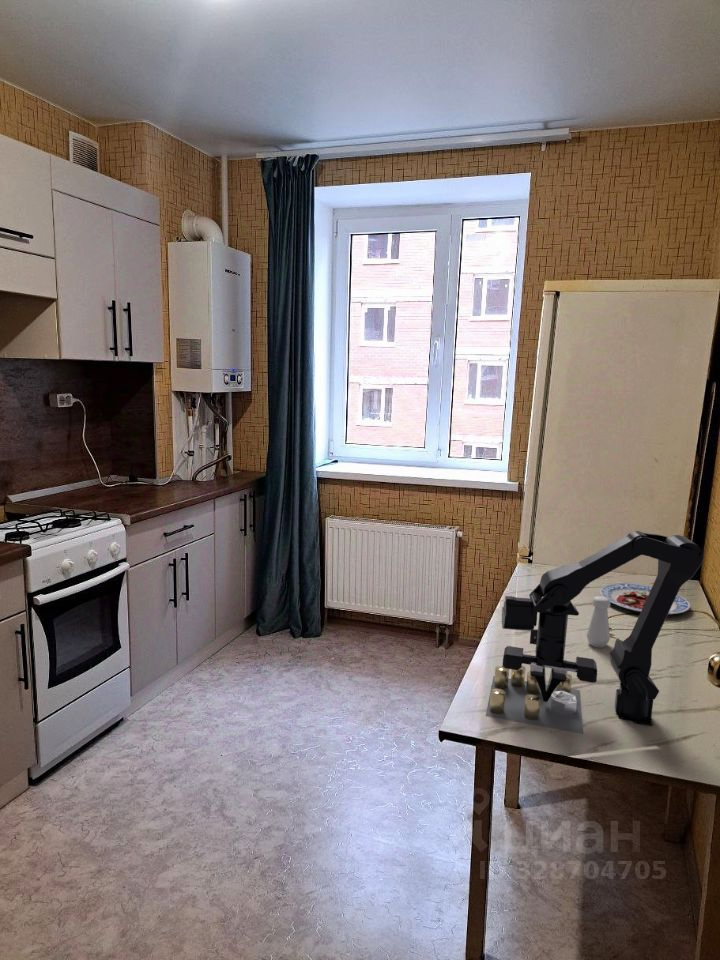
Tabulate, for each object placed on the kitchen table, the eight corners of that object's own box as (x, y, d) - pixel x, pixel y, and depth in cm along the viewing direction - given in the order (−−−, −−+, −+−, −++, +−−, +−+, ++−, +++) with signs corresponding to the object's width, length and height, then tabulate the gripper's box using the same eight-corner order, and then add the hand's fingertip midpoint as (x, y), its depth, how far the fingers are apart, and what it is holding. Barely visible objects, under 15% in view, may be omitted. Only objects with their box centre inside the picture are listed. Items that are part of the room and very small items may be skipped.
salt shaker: (590, 637, 169) (594, 592, 167) (611, 644, 166) (616, 597, 163) (582, 644, 165) (587, 597, 163) (604, 651, 161) (609, 603, 159)
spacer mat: (579, 692, 140) (579, 690, 140) (583, 735, 123) (583, 733, 123) (493, 677, 145) (493, 676, 145) (485, 717, 128) (485, 715, 128)
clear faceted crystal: (567, 700, 135) (568, 689, 135) (581, 712, 131) (582, 701, 130) (544, 703, 134) (544, 693, 133) (557, 715, 129) (558, 705, 129)
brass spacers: (570, 689, 140) (572, 673, 139) (572, 727, 125) (574, 709, 124) (495, 677, 145) (496, 661, 144) (488, 712, 130) (490, 694, 129)
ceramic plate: (687, 627, 179) (688, 617, 179) (593, 608, 192) (593, 598, 191) (691, 600, 201) (692, 591, 201) (606, 584, 214) (607, 576, 213)
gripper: (597, 624, 135) (589, 690, 138) (508, 611, 140) (503, 676, 143) (600, 645, 125) (592, 716, 127) (505, 630, 130) (499, 700, 133)
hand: (545, 700), depth 133 cm, fingers closed
